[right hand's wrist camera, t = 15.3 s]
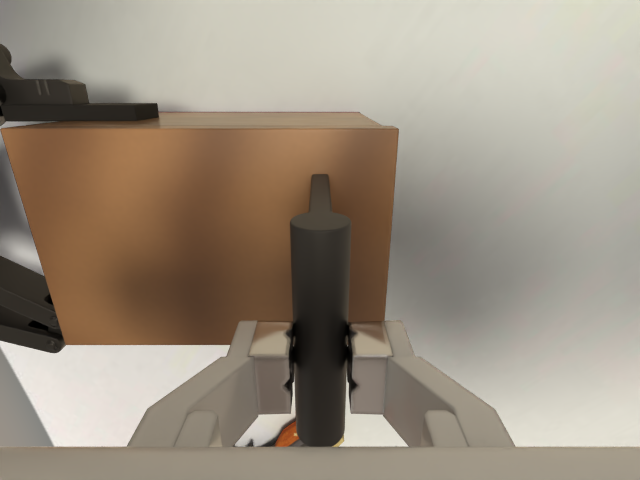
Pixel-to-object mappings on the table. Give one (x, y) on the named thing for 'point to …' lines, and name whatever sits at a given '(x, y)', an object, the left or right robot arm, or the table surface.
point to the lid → (215, 238)
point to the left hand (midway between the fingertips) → (164, 213)
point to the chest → (236, 119)
